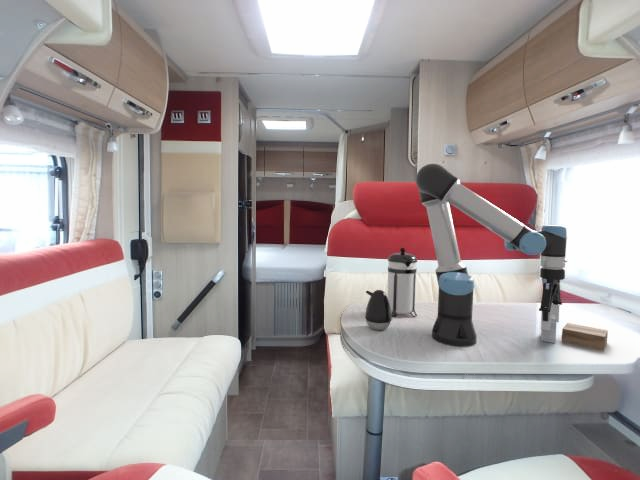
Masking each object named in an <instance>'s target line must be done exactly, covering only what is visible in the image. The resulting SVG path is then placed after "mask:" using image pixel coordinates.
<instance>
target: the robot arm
mask: <svg viewBox="0 0 640 480" xmlns="http://www.w3.org/2000/svg"><path fill="white" fill-rule="evenodd" d="M415 184H416V188H417V189H418V193H419V199H420V203H421V205H423V206H424V207H425V208H426V212H427V216H428V223H429V227H430V231H431V236H432V241H433V246H434V251H435V257H436V260H437V264H438V265H437V267H436V269H435V274H436V280H437V285H438V296H437V298H438V300H437V316H436V319H435V322H434V324H433V327H432V329H431V338H432V339H433V340H434V341H436V342H438V343H441V344H444V345H449V346H454V347H470V346H474V345H475V344H477V333H476V330H475V325H474V323H473V309H474V307H473V305H474V289H475V281H474V278H473V276H471V275H470V274H468V269H467V265H466V264H464V263H463V262H462V260H461V255H460V250H459V246H458V241H457V236H456V231H455V227H454V222H453V215H452V212H451V207H450V205H452V207H454V208H456V209H457V210H459V211H461V212H462V213H463V214H465V215H467V216H468V217H469V218H471V219H473V220H475V221H476V222H477V223H479V224H480V225H482V226H484V228H486V229H488V230H489V231H491V232H492V233H494V234H495V235H497V236H499V237H500V238H502V239H503V241H504V248H505V250H506V251H512V252H515V251H519V252H522V253H523V254H526V255H528V256H536V255H540V264H539V266H540V270H539V277H540V278H541V279H545V280H546V281H545V282H543V287H542V295H541V303H540V307H539V308H538V311H539V312H541V318H540V319H541V322H540V330H541V329H543V330H548V331H550V327H551V314H554V315H556V323H559V322H560V305H561V306H562V305H563V301H562V299H561V298H562V297H561V286H560V285H561V281H563V280H565V279H566V278H565V277H566V270H565V268H566V263H567V262H568V259H566V255H567V253H566V251H567V240H568V238H567V237H568V236H567V227H566V226H565V225H560V224H558V225H555V224H554V225H553V224H544V225H542V226H541V229H540V230H533V229H531V228H530V227H528V226H527V225H525V224H524V223H522V222H520V221H519V220H518V219H517V218H514V217H513V216H511V215H510V214H508V213H507V212H505V211H504V210H502V209H500V208H499V207H497V206H496V205H494V204H493V203H491V202H490V201H488V200H486V199H485V198H484V197H483V196H481V195H479V194H477V193H476V192H474V191H473V190H471V189H470V188H468V187H466V186H465V185H463V184H461V181H460V178H459V177H456V176H455V175H453V174H452V173H451V172H449V170H448V169H446V168H445V167H444V166H442V165H441V164H438V163H429V164H426V165H424V166H422V167H420V169H419V170H418V172H417V173H416V176H415Z"/></svg>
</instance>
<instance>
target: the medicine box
mask: <svg viewBox="0 0 640 480" xmlns="http://www.w3.org/2000/svg"><path fill="white" fill-rule="evenodd" d="M540 331H541V332H540V341H542V342H546V343H551V344H556V342H557V341H556V338H557V337H556V336H557V335H556V334H557V322H556V315H554V314H551V327H550V331H548V330H543V329H541V328H540Z"/></svg>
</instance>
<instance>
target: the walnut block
mask: <svg viewBox="0 0 640 480" xmlns="http://www.w3.org/2000/svg"><path fill="white" fill-rule="evenodd" d="M561 329H562V331H561V342H562V343H567V344H572V345H576V346H581V347H584V348H585V347H586V348H590V349H595V350H599V351H605V349H606V346H607V344H608V331H609V330H607V329H602V328H598V327H597V328H596V327H591V326H586V325H580V324H577V323H576V324H575V323H570V322H567V323H565V325H564V326H563V328H561Z"/></svg>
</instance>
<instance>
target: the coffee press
mask: <svg viewBox="0 0 640 480" xmlns="http://www.w3.org/2000/svg"><path fill="white" fill-rule="evenodd" d="M399 251H400V252H395V253H392V254H390V255H389V256H388V258H387V261H388V267H387V272H388V273H387V298H388V300H389V304H390V308H391V315H392V318H396V317H397V315H398V314H399V315H401V314H402V315H407V314H410V316H412V317H413V318H416V317H417V316H418V315H417V313H416V311H415V303H416V280H417V279H416V278H417V272H418V271H417V269H418V268H417V263H418V259H417V257H416V256H415V255H414V254H411V253H406V249H405V248H404V247H401V248H400V249H399Z"/></svg>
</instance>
